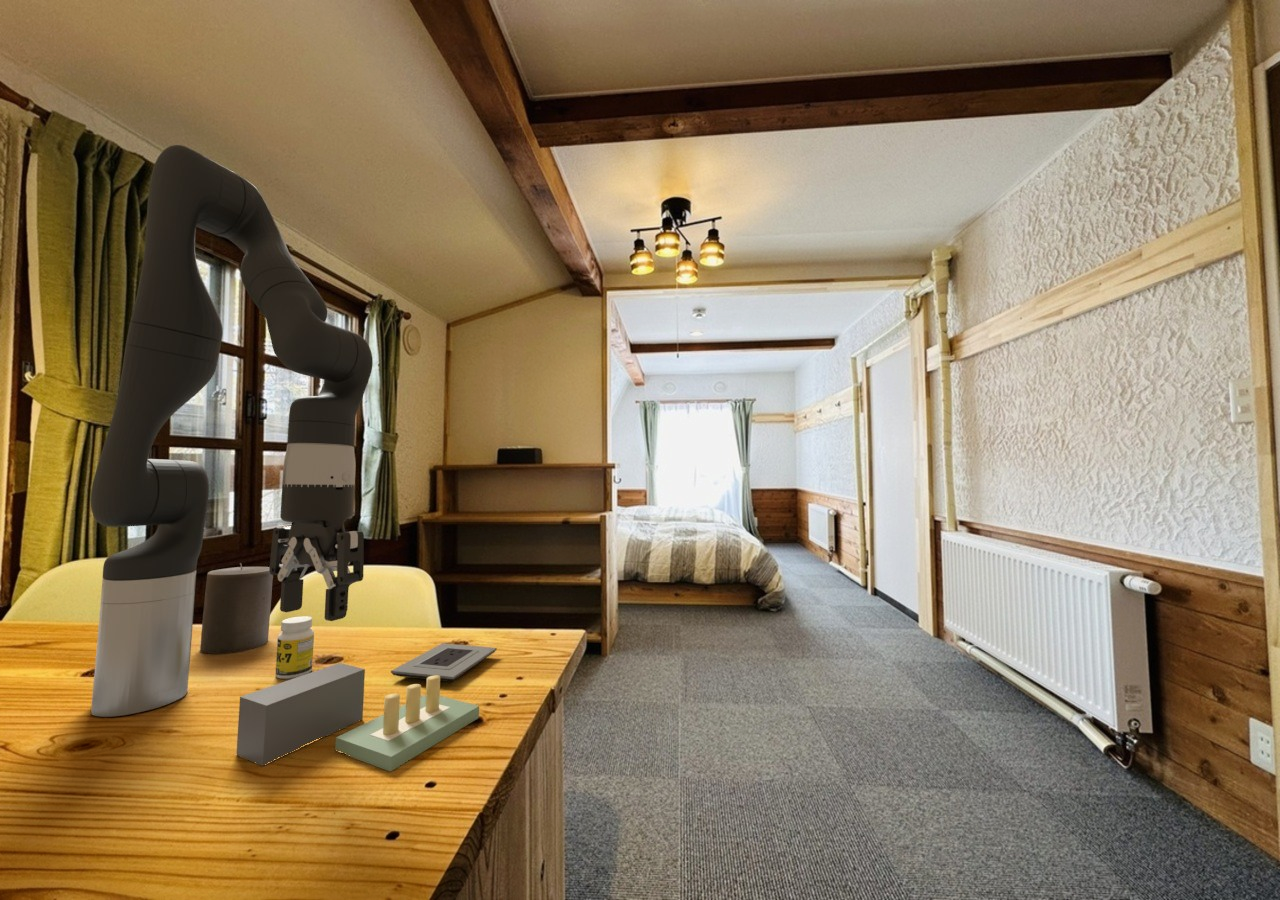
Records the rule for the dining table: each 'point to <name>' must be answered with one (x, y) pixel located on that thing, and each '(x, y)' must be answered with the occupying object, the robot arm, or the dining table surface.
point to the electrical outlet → (444, 662)
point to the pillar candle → (236, 609)
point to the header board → (407, 726)
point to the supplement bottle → (295, 648)
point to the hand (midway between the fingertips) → (312, 614)
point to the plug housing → (299, 712)
